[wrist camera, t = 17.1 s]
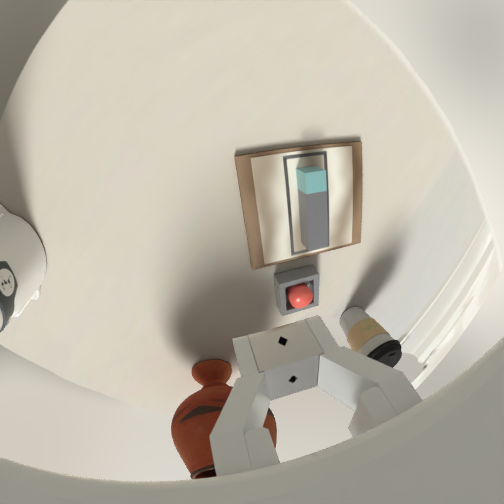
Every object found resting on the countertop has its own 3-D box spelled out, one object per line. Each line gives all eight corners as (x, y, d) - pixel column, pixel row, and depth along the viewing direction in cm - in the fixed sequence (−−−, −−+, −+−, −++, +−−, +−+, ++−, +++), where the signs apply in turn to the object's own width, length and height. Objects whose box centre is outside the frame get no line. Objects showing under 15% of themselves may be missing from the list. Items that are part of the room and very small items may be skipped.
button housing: (276, 305, 50) (281, 315, 47) (273, 274, 46) (279, 284, 44) (312, 295, 51) (318, 305, 48) (311, 264, 47) (318, 273, 45)
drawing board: (251, 267, 45) (253, 270, 44) (234, 156, 36) (235, 157, 35) (358, 240, 47) (360, 243, 46) (358, 141, 38) (362, 142, 38)
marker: (319, 238, 44) (327, 246, 41) (301, 242, 43) (309, 251, 41) (315, 165, 38) (325, 170, 35) (295, 168, 38) (304, 173, 35)
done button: (286, 301, 48) (291, 310, 46) (285, 284, 46) (290, 292, 44) (307, 296, 49) (312, 304, 46) (307, 278, 47) (313, 286, 44)
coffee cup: (367, 293, 54) (407, 338, 42) (368, 321, 59) (402, 365, 46) (329, 311, 54) (364, 363, 41) (333, 338, 59) (363, 387, 46)
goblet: (268, 374, 60) (302, 467, 38) (198, 402, 60) (213, 491, 38) (232, 327, 50) (266, 448, 28) (150, 362, 50) (152, 475, 29)
